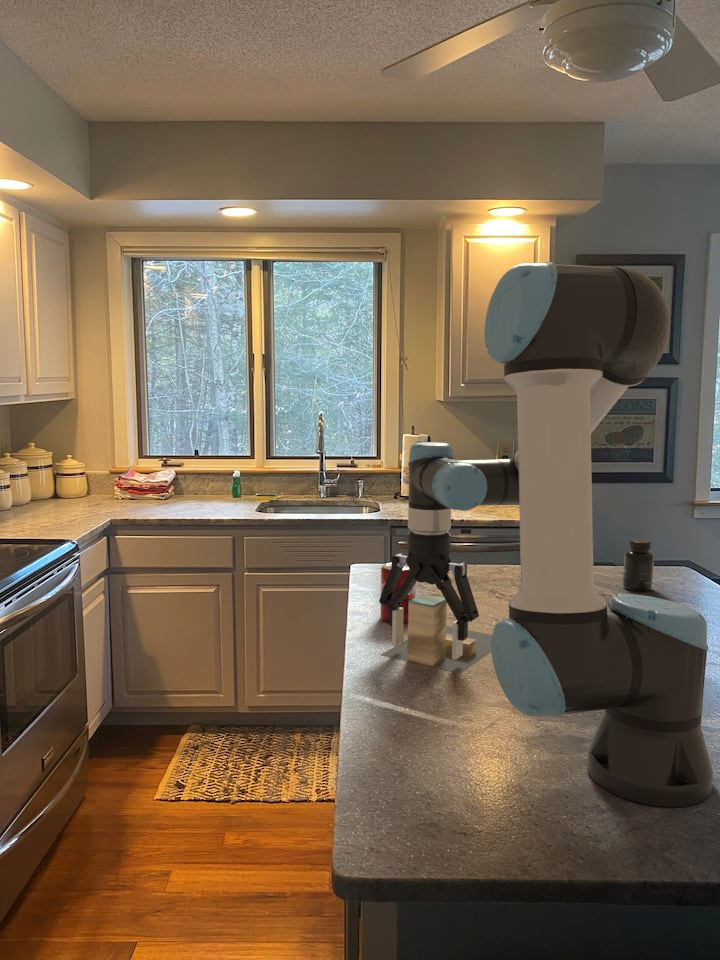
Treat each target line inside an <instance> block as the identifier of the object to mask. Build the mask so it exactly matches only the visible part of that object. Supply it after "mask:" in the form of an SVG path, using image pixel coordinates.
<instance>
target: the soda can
mask: <svg viewBox="0 0 720 960" xmlns="http://www.w3.org/2000/svg"><path fill="white" fill-rule="evenodd" d="M391 567H392V562H387V563H384V564H382V566H381V568H380V595H381V594H382V591H383V589H384V586H385V583H386V581H387V578H388V575H389V573H390V570H391ZM409 573H410V569H409V567H408V565H407V563H406V565H405V566H404V567H403V571H402V573H401V576H400V578H399V581H398V584H397V586H396V589H395V592H394V594H393V597H394V595H395V594H396V592H397V591H398V590H399V588H400V587H401V585H402V584H403V583H404V581H405V578H406V577H407V576H408V574H409ZM416 590H417V582H416V583H415V585H414V586H413V587H412V589H411V590H410V592H409V593H408V594H407V596H406V597H405V598H404V600H403V601H402V603H401V605H400V606H398V608H399V607H402V608H404V612H403V626H404V625H408V606H409V600H411V599H413V598H415V597H417V594H416V592H417V591H416ZM393 597H392V598H393ZM379 611H380V612H379V614H380V621H381V622H383V623H385V624H387V625H389V609H388V607H387V606H386V605H384V604H383V605H382V604H380V610H379Z"/></svg>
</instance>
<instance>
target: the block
mask: <svg viewBox="0 0 720 960" xmlns="http://www.w3.org/2000/svg"><path fill="white" fill-rule="evenodd" d="M447 606H448V603H447V601H446V600H445V598H444V597H441V596H440V597H439V596H432V595H428V594H423V593H422V594H420V595H418V596H417V595H416V597H415V598H413V599H411V600H409V606H408V624H407V640H408V661H412V662H416V663H421V664H425V665H429V666H434V665H435V664H437V663H438V662H440V661H441V660H443V659H444V658H445V650H446V626H447ZM408 661H407V662H408ZM412 662H411V663H412ZM416 663H415V664H416ZM421 664H420V665H421ZM425 665H424V666H425ZM429 666H428V667H429Z"/></svg>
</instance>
